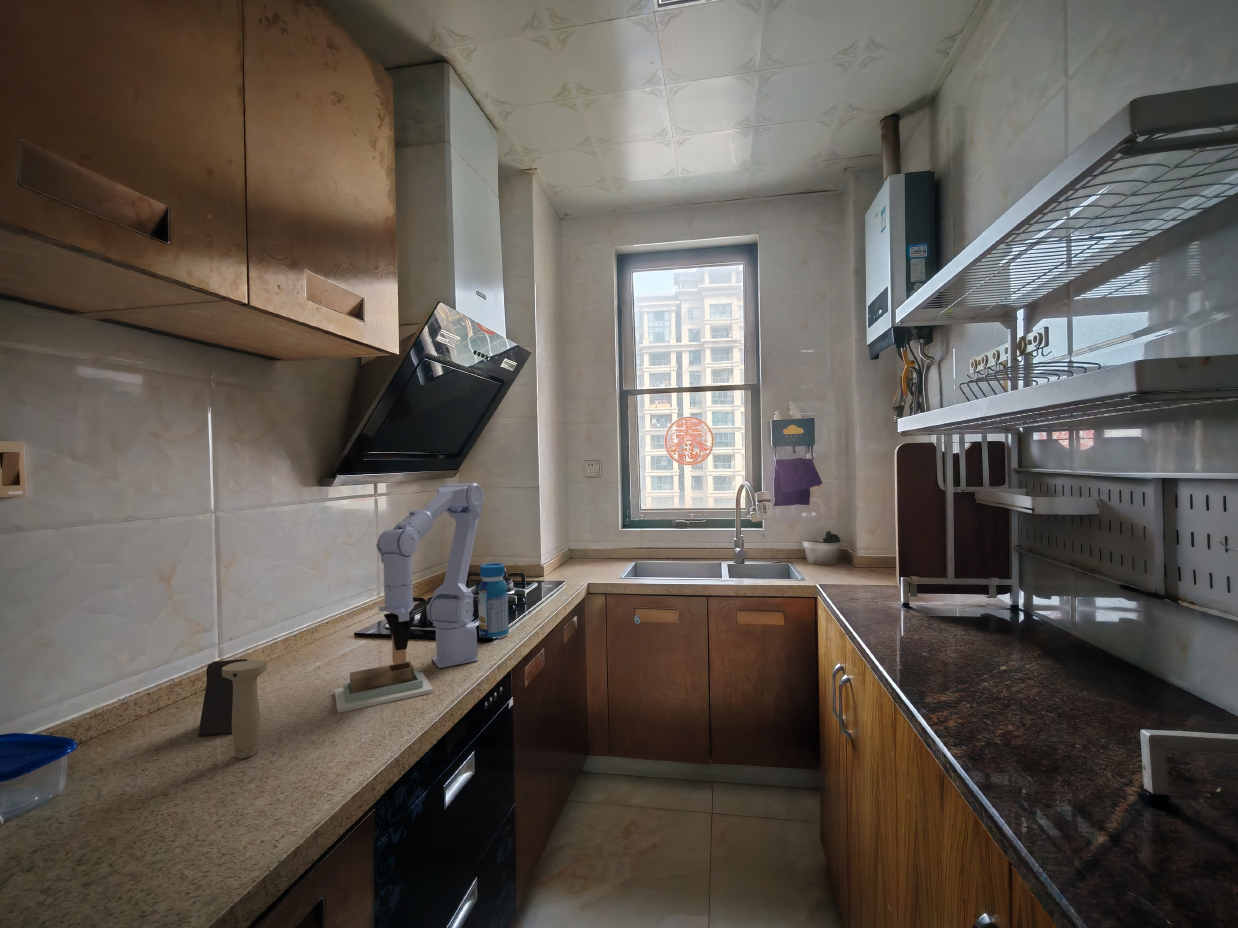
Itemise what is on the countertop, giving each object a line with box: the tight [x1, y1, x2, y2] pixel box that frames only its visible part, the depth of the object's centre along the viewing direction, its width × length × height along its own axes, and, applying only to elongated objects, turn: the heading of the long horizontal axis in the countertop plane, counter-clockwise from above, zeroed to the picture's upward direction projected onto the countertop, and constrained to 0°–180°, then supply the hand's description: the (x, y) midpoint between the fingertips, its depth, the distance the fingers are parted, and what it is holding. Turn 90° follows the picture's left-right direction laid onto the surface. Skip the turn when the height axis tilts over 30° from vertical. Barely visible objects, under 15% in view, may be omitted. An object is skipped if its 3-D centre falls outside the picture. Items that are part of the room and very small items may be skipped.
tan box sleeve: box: [349, 660, 415, 693], centre depth 119 cm, size 12×5×4 cm, turn 119°
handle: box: [222, 659, 268, 760], centre depth 94 cm, size 5×6×15 cm
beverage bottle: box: [477, 562, 510, 640], centre depth 158 cm, size 8×8×20 cm
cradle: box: [334, 668, 434, 714], centre depth 119 cm, size 18×12×2 cm, turn 119°
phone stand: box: [197, 658, 249, 738], centre depth 106 cm, size 9×6×12 cm, turn 8°
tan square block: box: [391, 635, 407, 664], centre depth 121 cm, size 2×2×6 cm
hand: (400, 647), depth 121 cm, fingers closed on tan square block, 2 cm apart
